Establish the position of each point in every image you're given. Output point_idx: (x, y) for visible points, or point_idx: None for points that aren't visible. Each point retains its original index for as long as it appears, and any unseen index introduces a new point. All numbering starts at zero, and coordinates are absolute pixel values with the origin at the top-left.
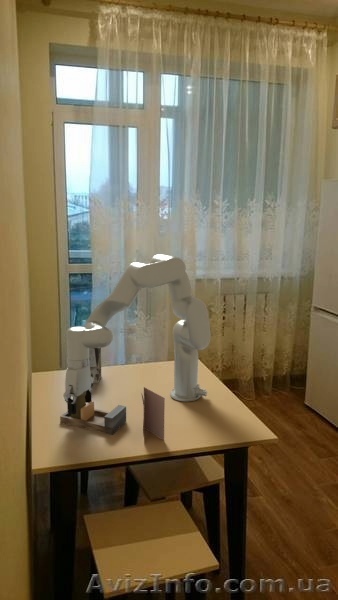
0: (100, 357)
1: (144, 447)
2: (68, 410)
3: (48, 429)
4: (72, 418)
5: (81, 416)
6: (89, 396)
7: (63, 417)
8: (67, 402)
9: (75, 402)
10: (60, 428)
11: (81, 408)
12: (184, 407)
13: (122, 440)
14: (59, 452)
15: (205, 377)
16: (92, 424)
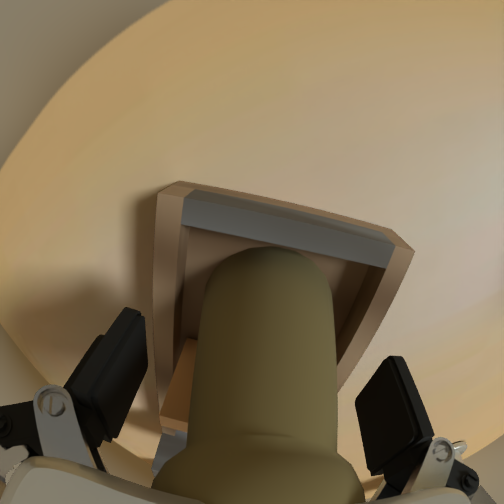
0: None
1: (153, 458)
2: (95, 339)
3: (85, 149)
4: (162, 306)
5: (175, 372)
6: (366, 446)
7: (156, 228)
8: (39, 402)
9: (190, 414)
10: (116, 218)
11: (170, 418)
12: (372, 478)
13: (155, 437)
14: (7, 293)
15: (493, 439)
16: (159, 400)
